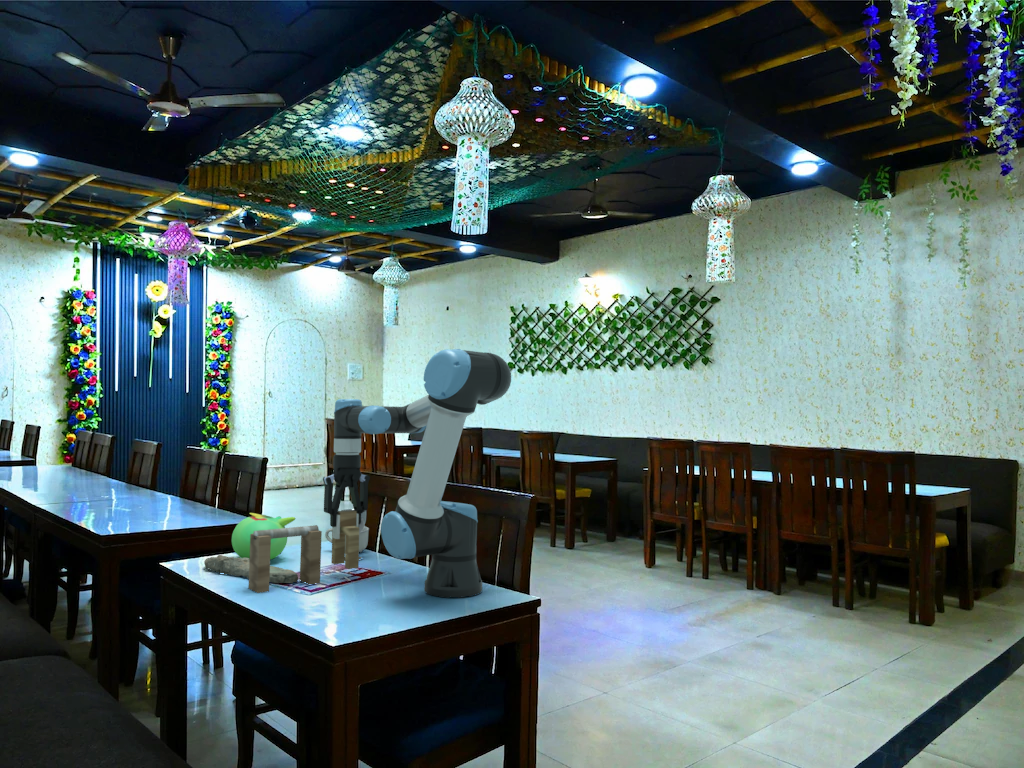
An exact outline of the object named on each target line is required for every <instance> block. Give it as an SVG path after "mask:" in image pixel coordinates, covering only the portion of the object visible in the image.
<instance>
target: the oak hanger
mask: <svg viewBox="0 0 1024 768" xmlns="http://www.w3.org/2000/svg"><path fill="white" fill-rule="evenodd" d="M337 515H340V539H335V538H333V527H332V526H331V528H332V532H331V533H332V534H331V539H332V543H331V564H332V565H342V564H344V568H345V569H347V570H352V569H357V568H359V561H360V560H359V557H360V556H359V555H360V553H359V527H356V517H357V511H353V510H347V511H341V510H338V514H337ZM345 535H346V548H345Z"/></svg>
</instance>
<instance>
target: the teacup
mask: <svg viewBox="0 0 1024 768" xmlns="http://www.w3.org/2000/svg"><path fill="white" fill-rule="evenodd" d="M369 531H370V528H369V527H367V526H366V525H365V526H364V529H363V530H362V531H361V533H360V534H359V552H360V553H362V552H363V550H365V549H366V548H367V546H368V542H369ZM330 532H331V533H332V527H331V528H328V529H327V530H326V531H325V534H324V535H325V536H324V537H325V539H326V540H327V541H328V542H329V543H331V544H332V537H331V538H330V536H329V534H330ZM345 548H346V535H345Z"/></svg>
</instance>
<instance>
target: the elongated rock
mask: <svg viewBox="0 0 1024 768" xmlns="http://www.w3.org/2000/svg"><path fill="white" fill-rule="evenodd" d="M249 560H250V559H249V558H245V557H244V558H241V557H240V556H239V557H234V556H226V555H222V554H218V555H217V556H216V557H215V556H210V557H207V558H206V559H204V567H205V568H206V569H208V570H210V571H212V572H213V571H216V572H215V573H217V572H219V573H218V574H220V573H224V574H223V575H225V574H229V576H232V575H233V576H232V577H234V576H236V577H241V576H242V577H244V578H246V579H248V580H249ZM298 579H299V575H298V573H296V572H295V571H294V570H292V569H288V568H283V567H279V566H273V565H270V577H269V582H272V583H271V584H273V583H274V584H279V583H291V584H294V583H293V582H296V583H297V582H298V581H297V580H298Z"/></svg>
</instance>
